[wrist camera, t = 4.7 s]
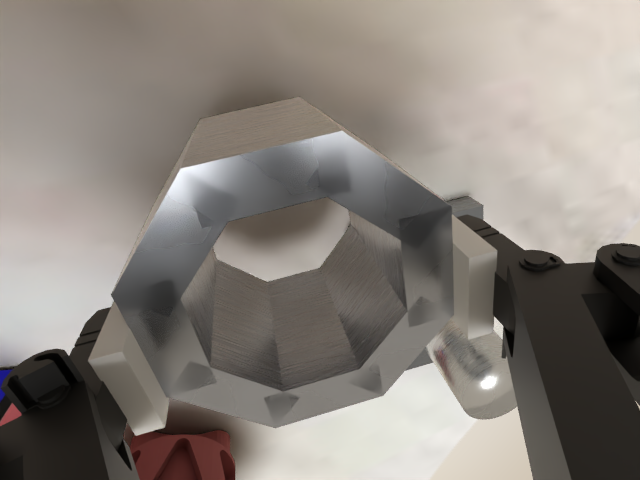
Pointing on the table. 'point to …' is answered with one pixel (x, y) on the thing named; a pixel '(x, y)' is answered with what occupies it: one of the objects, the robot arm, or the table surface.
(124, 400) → the robot arm
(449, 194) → the table surface
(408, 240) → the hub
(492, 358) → the bulb on base
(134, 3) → the table surface
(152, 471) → the mechanical component
